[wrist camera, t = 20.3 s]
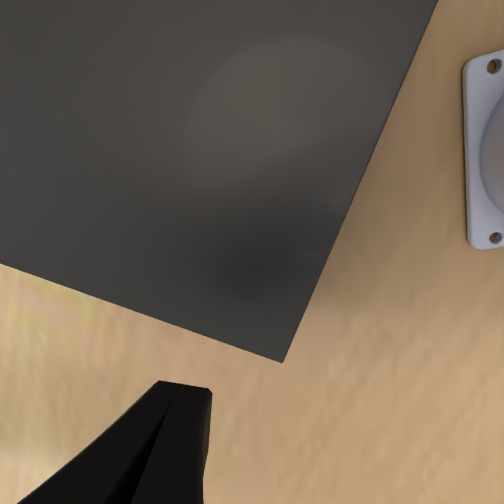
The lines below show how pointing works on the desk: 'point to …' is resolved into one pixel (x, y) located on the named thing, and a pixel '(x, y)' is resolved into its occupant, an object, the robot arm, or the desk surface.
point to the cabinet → (193, 149)
